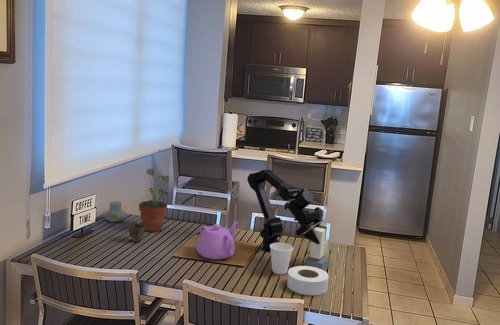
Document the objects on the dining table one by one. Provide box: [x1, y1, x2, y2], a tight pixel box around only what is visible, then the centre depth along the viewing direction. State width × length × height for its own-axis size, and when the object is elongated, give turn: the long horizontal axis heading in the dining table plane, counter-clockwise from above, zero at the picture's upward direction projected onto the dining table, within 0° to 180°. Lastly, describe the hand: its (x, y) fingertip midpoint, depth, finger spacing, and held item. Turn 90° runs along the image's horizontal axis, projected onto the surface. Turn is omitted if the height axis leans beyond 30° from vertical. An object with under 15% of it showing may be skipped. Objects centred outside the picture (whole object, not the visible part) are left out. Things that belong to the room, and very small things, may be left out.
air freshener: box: [104, 200, 127, 223], centre depth 237 cm, size 11×8×10 cm
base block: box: [303, 255, 331, 271], centre depth 193 cm, size 8×8×4 cm
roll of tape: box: [286, 265, 330, 296], centre depth 172 cm, size 16×16×6 cm
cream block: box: [309, 227, 327, 259], centre depth 191 cm, size 4×5×12 cm
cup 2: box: [270, 242, 295, 275], centre depth 184 cm, size 10×10×11 cm
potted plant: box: [138, 168, 170, 233], centre depth 225 cm, size 16×15×35 cm
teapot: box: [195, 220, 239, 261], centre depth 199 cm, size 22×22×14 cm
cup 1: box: [128, 222, 145, 243], centre depth 208 cm, size 8×7×8 cm
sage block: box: [322, 240, 329, 257], centre depth 208 cm, size 5×5×6 cm
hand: (320, 242), depth 190 cm, fingers closed on cream block, 5 cm apart
